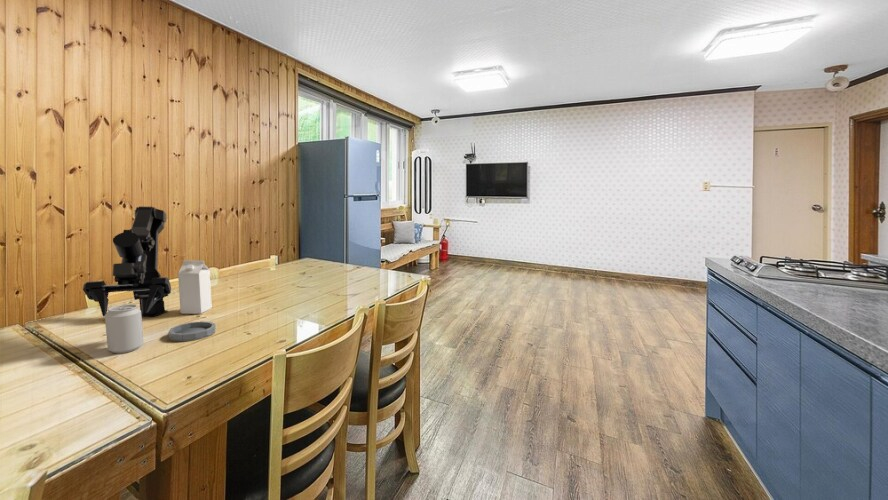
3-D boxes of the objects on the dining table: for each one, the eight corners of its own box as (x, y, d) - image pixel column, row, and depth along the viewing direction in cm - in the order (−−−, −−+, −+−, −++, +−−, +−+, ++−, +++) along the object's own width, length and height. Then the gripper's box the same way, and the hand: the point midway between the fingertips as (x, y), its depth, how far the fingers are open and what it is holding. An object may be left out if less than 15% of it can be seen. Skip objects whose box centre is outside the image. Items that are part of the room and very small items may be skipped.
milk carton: (192, 308, 139) (189, 258, 136) (212, 308, 139) (209, 259, 137) (180, 314, 132) (177, 262, 129) (201, 314, 132) (198, 262, 130)
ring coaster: (159, 339, 108) (159, 333, 108) (190, 326, 120) (189, 320, 119) (196, 342, 107) (195, 335, 107) (223, 328, 118) (223, 322, 118)
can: (123, 355, 97) (119, 312, 95) (100, 352, 98) (96, 309, 97) (150, 345, 104) (147, 304, 103) (129, 342, 106) (125, 302, 104)
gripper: (82, 253, 100) (69, 302, 92) (166, 250, 109) (162, 295, 101) (94, 276, 108) (84, 323, 100) (172, 271, 117) (169, 315, 108)
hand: (125, 313), depth 102 cm, fingers open, 9 cm apart
